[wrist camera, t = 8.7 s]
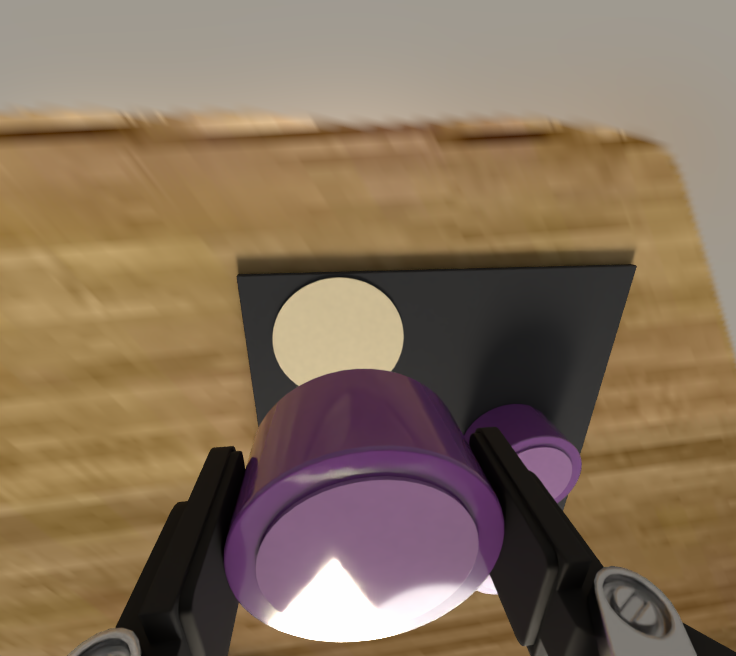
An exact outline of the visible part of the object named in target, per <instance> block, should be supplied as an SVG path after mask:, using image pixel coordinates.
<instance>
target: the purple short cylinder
mask: <svg viewBox="0 0 736 656" xmlns="http://www.w3.org/2000/svg"><path fill="white" fill-rule="evenodd" d="M504 535H505V525H504V515H503V511H502V507H501V504H500V502H499V500H498V498H497V495H496V493H495V491H494V490H493V488H492V486H491V484H490V482H489V481H488V479H487V477H486V475H485V473H484V472H483V470H482V468H481V466H480V464H479V463H478V461H477V459H476V457H475V455H474V454H473V452H472V450H471V448H470V446H469V445H468V443H467V441H466V439H465V437H464V436H463V434H462V432H461V430H460V428H459V426H458V425H457V423H456V421H455V419H454V417H453V416H452V414H451V412H450V410H449V409H448V408H447V406H446V405H445V403H444V402H443V401H442V400H441V399H440V398H439V397H438V396H437V395H436V393H434V392H433V391H432V390H430V389H429V388H428V387H426V386H425V385H423V384H422V383H420V382H418V381H416V380H414V379H412V378H409V377H407V376H404V375H402V374H399V373H395V372H391V371H387V370H379V369H349V370H341V371H337V372H333V373H328V374H325V375H322V376H320V377H317V378H314V379H312V380H310V381H308V382H306V383H304V384H302V385H300V386H298V387H297V388H295V389H294V390H292V391H291V392H289V393H288V394H286V395H285V396H284V397H283V398H282V399H281V400H279V401H278V402H277V403H276V404H275V405H274V406H273V407H272V409H271V410H270V411H269V412H268V413H267V415H266V416H265V418H264V419H263V421H262V422H261V424H260V426H259V428H258V430H257V433H256V435H255V438H254V442H253V445H252V449H251V452H250V456H249V459H248V463H247V466H246V470H245V473H244V477H243V480H242V484H241V487H240V491H239V494H238V498H237V501H236V505H235V508H234V512H233V515H232V519H231V522H230V526H229V529H228V533H227V536H226V540H225V544H224V551H223V563H224V570H225V574H226V578H227V582H228V585H229V588H230V589H231V591H232V593H233V595H234V596H235V598H236V599H237V600H238V602H239V603H240V604H241V605H242V606H243V608H244V609H246V610H247V611H248V612H249V613H250V614H251V615H253V616H254V617H255V618H257V619H258V620H260V621H261V622H263V623H265V624H266V625H268V626H270V627H272V628H275V629H277V630H279V631H282V632H284V633H287V634H290V635H293V636H298V637H302V638H306V639H312V640H319V641H331V642H354V641H365V640H372V639H378V638H384V637H388V636H392V635H396V634H400V633H403V632H406V631H409V630H412V629H415V628H418V627H420V626H422V625H425V624H427V623H429V622H431V621H433V620H435V619H437V618H439V617H441V616H443V615H445V614H446V613H448V612H449V611H451V610H453V609H454V608H456V607H457V606H458V605H460V604H461V603H462V602H464V601H465V600H466V599H467V598H469V597H470V596H471V595H472V594H473V593H474V592H475V591H476V590H477V589H478V588H479V587H480V586H481V585H482V583H483V582H484V581H485V580H486V579H487V577H488V576H489V574H490V573H491V571H492V570H493V568H494V567H495V564H496V562H497V560H498V558H499V556H500V553H501V550H502V546H503V541H504Z"/></svg>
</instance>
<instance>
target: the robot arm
mask: <svg viewBox="0 0 736 656" xmlns="http://www.w3.org/2000/svg"><path fill="white" fill-rule="evenodd" d="M469 446H470V448H471V450H472V452H473V454H474V455H475V457H476V459H477V461H478V463H479V464H480V466H481V468H482V470H483V472H484V473H485V475H486V477H487V479H488V481H489V482H490V484H491V486H492V488H493V490H494V491H495V493H496V495H497V498H498V500H499V502H500V504H501V507H502V511H503V515H504V525H505V535H504V541H503V546H502V550H501V553H500V556H499V558H498V560H497V562H496V564H495V567H494V568H493V570H492V571H491V573H490V577H491V579H492V581H493V584H494V586H495V589H496V591H497V593H498V596H499V598H500V600H501V603H502V605H503V607H504V610H505V612H506V615H507V617H508V619H509V622H510V624H511V626H512V629H513V631H514V634H515V636H516V638H517V640H518V642H519V643H520V644H521V645H522V646H527V648H528V651H529V653H530V655H531V656H736V652H734V651H732V650H731V649H729V648H727V647H725V646H724V645H722V644H720V643H718V642H716V641H715V640H713V639H711V638H709V637H707V636H706V635H704V634H702V633H700V632H699V631H697V630H695V629H693V628H691V627H690V626H688V625H686V624H684V623H682V621H681V619H680V617H679V615H678V613H677V611H676V610H675V608H674V606H673V605H672V603H671V602H670V600H669V599H668V598H667V597H666V596H665V595H664V594H663V592H662V591H661V590H660V589H658V588H657V587H656V586H655V585H654V584H652V583H651V582H650V581H649V580H647V579H646V578H644V577H642V576H641V575H639V574H637V573H636V572H633V571H631V570H628V569H625V568H622V567H615V566H610V567H603V565H602V564H601V563H600V561H599V560H598V559H597V557H596V556H595V554H594V553H593V552H592V550H591V549H590V548H589V546H588V545H587V544H586V542H585V541H584V539H583V538H582V537H581V535H580V534H579V533H578V531H577V530H576V528H575V527H574V526H573V524H572V523H571V522H570V520H569V519H568V518H567V516H566V515H565V513H564V512H563V511H562V509H561V508H560V507H559V505H558V504H557V502H556V501H555V500H554V498H553V497H552V496H551V494H550V493H549V492H548V490H547V489H546V487H545V486H544V485H543V483H542V482H541V481H540V479H539V478H538V477H537V476H536V475H535V473H533V472H532V471H529V470H528V469H527V467H526V466H525V465H524V463H523V462H522V460H521V459H520V458H519V456H518V455H517V454H516V452H515V451H514V449H513V448H512V447H511V445H510V444H509V442H508V441H507V440H506V438H505V437H504V435H503V434H502V433H501V431H500V430H499V429H498V428H497V427H483V428H477V429H476V430H475V433H472V434H471V435H470V439H469ZM244 473H245V465H244V459H243V454H242V452H241V451H236V450H235V447H234V446H229V447H216V448H212V449H211V450H210V452H209V454H208V457H207V459H206V461H205V463H204V466H203V468H202V470H201V472H200V475H199V477H198V479H197V482H196V484H195V486H194V488H193V491H192V493H191V495H190V497H189V500H188V501H185V502H178V503H177V504H176V505H175V506H174V507H173V509H172V511H171V512H170V515H169V517H168V519H167V521H166V523H165V525H164V527H163V529H162V531H161V533H160V535H159V538H158V540H157V542H156V544H155V546H154V548H153V550H152V552H151V554H150V556H149V559H148V561H147V563H146V565H145V567H144V569H143V571H142V573H141V575H140V577H139V579H138V582H137V584H136V586H135V588H134V590H133V592H132V594H131V596H130V598H129V600H128V602H127V605H126V607H125V609H124V611H123V613H122V615H121V617H120V619H119V621H118V623H117V625H116V628H112V629H108V630H105V631H103V632H100V633H97V634H95V635H94V636H92V637H90V638H89V639H87V640H86V641H84V642H82V643H81V644H80V645H79V646H77V647H76V648H75V649H74V650H73V651H72V652H71V653H69V654H68V655H67V656H228V651H229V646H230V641H231V637H232V632H233V627H234V622H235V618H236V613H237V608H238V603H239V602H238V600H237V599H236V598H235V596H234V595H233V593H232V591H231V589H230V588H229V585H228V582H227V578H226V574H225V570H224V563H223V551H224V544H225V540H226V536H227V533H228V529H229V526H230V522H231V519H232V515H233V512H234V508H235V505H236V501H237V498H238V494H239V491H240V487H241V484H242V480H243V477H244Z"/></svg>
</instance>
